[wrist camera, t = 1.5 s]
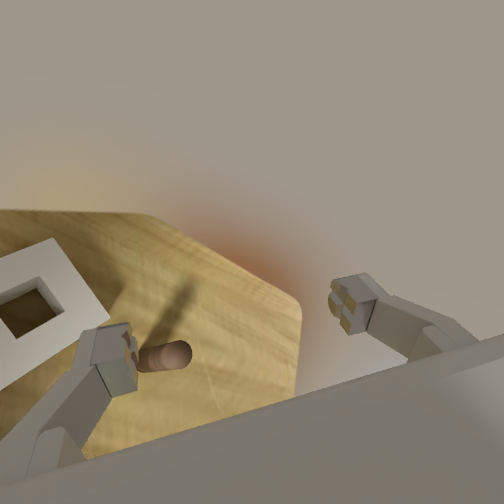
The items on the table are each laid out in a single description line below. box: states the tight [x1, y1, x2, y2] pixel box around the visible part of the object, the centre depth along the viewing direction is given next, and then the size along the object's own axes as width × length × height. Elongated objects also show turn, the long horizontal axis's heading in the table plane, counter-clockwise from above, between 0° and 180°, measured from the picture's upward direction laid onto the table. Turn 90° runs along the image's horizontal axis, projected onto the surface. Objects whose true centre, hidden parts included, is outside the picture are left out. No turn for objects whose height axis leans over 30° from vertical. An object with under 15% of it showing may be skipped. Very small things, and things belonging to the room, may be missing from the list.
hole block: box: [0, 238, 111, 391], centre depth 34 cm, size 12×12×6 cm
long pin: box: [136, 340, 192, 373], centre depth 38 cm, size 3×3×12 cm
